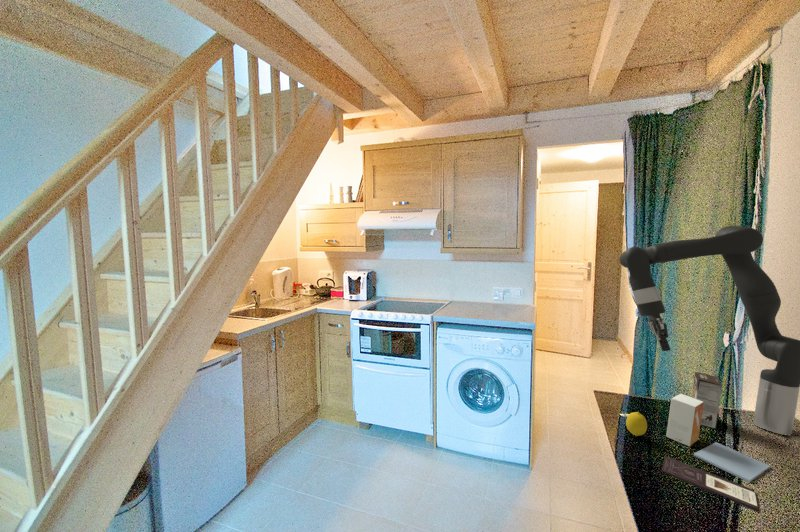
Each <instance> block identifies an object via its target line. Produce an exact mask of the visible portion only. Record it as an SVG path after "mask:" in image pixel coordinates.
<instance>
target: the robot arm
mask: <svg viewBox="0 0 800 532" xmlns="http://www.w3.org/2000/svg"><path fill="white" fill-rule="evenodd" d="M763 241H764V236H763V234H762V233H761V232H760V231H759V230H757V229H755V228H753V227H749V226H741V225H727V226H724V227H721V228H720V229H719V230H718V231H717V232H716V234H715V236H711V237H705V238H693V239H682V240H680V239H679V240H673V241H666V242H662V243H660V242H659V243H656V244H653V245H650V246H648V247H643V248H642V247H639V246H632V247H629V248H627V249H625V251H623V252H621V254H620V256H619V264H621V266H622V267H624V268H626V269H628V272H629V276H628V281H629V285H630V288H631V290H632V294H633V299H634V301H635V303H636V304H635V305H636V306H637V310H638V312H639V316H641V317H646V316H647V318H648V320H647V323H648V327H649V328H650V330H651V332H652V334H653V336H654V338H655V339H656V340H657V341H658V344H659V346H660V349H661V351H663V352H669V351H671V347H670V344H669V341H668V338H669V331H668V327H667V324H666V322H665V320H664V318H662V316H661V314H665V313H666V312H667V311H666V308H665V305H664V303H663V299H662V298H661V294H660V292H659V290H658V288H657V287H656V284H655V281H654V278H653V276H652V271H651V265H654V264H662V263H668V262H669V263H670V262H674V261H675V262H676V261H681V260H688V259H693V258H699V257H708V256H717V255H720V256H722V258H723V259H724V262H725V264H726V265H727V267H728V269H729V272H730V275H731V278H732V280H733V282H734V285H735V287H736V290H737V293H738V295H739V297H740V300H741V302H742V305H743V306H744V310H745V312H746V314H747V317H748V320H749V322H750V325H751V329H752V331H753V336H754V339H755V343H756V347H757V350H758V351H759V353H760V354H761V355H762V356H764V357H765V358H766V359H769V360H771V361H774V362H776V365H775V367H774V368H773V369H771V368H768V369H767V368H766V369H765V368H764V369H762V370H761V371H760V375H759V381H758V390H757V395H756V401H755V402H756V403H755V409H754V414H753V422H752V423H754V424H755V425H756V427H757V426H758V427H757V428H759V427H760V428H759V429H761V428H763V429H766V430H770V431H773V432H776V433H780V434H786V435H789V434H792V435H793V431H794V430H793V429H794V423H795V418H796V411H797V406H798V400H799V392H800V340H799V339H796V338H793V337H789V336H784V335H782V334H781V332H780V330H779V329H778V326H777V323H776V317H777V314H778V312H779V310H780V308H781V305H782V300H781V297H780V294H779V291H778V289H777V287H776V285H775V283H774V281H773V280H772V279H771V278H770V277H769V275H768V274H767V273H766V272H765V271H764V270H763V269H762V267H760V265H759V264H758V263H757V262H756V260H755V259H754V257H753V255H752V253H753V252H755V251H757V250H759V248H761V246H762V245H763ZM754 424H753V425H754ZM763 429H762V430H763Z"/></svg>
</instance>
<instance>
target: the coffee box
mask: <svg viewBox="0 0 800 532" xmlns="http://www.w3.org/2000/svg"><path fill="white" fill-rule="evenodd" d="M722 389H723V383H722V381H720V379H719V377H718V376H715V375H710V374H706V373H702V372H698V371H695V372H694V377H693V387H692V393H691V397H692V398H695V399H697V400H700V401H703V402H704V404H703V411H702V418H701V424H700V426H706V427H709V428H712V429H717V422H718V414H719V409H720V403H721V395H722Z"/></svg>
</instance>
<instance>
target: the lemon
mask: <svg viewBox="0 0 800 532" xmlns="http://www.w3.org/2000/svg"><path fill="white" fill-rule="evenodd" d="M625 425H626V429H627V430H628V432H630V433H631V434H632V436H634V435H635V436H634V437H638V436H644V435H645V434H646V432H647V429H648V423H647V419H646V417H645V416H644V415H643V414H641V413H640V412H639V411H635V412H633V411H632V412H630V413H629V414H628V415H627V417H626V420H625Z"/></svg>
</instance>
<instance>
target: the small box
mask: <svg viewBox="0 0 800 532" xmlns="http://www.w3.org/2000/svg"><path fill="white" fill-rule="evenodd" d="M703 404H704V402H703V401H700V400H697V399H695V398H692V396H689V395H686V394H683V393H679V394H677V395H675V396H673V397H671V399H670V406H669V414H668V420H667V428H666V433H665V434H666V435H665V437H667V438H668V439H671V440H673V441H675V442H678V443H680V444H682V445H685V446H687V447H691V446H693V445H694V444H695V443H696V442H697V441H699V436H700V431H701V429H700V428H701V418H702V411H703Z"/></svg>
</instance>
